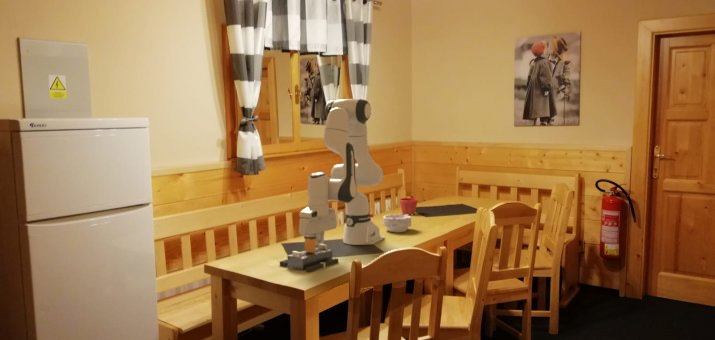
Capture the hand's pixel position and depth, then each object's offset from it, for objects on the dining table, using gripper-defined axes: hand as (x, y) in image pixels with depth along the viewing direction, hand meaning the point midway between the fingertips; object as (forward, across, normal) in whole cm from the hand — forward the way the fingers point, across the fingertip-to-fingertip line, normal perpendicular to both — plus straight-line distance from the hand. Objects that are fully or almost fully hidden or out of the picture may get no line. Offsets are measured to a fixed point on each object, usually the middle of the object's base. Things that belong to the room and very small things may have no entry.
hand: (318, 242), depth 234 cm
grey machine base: (+8, +5, 0) cm, 10 cm away
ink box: (+9, -14, -15) cm, 22 cm away
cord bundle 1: (+8, +5, -8) cm, 13 cm away
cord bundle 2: (+8, +5, +7) cm, 12 cm away
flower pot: (+8, -114, -29) cm, 118 cm away
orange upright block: (+3, +5, 0) cm, 6 cm away
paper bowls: (+8, -71, -8) cm, 72 cm away
